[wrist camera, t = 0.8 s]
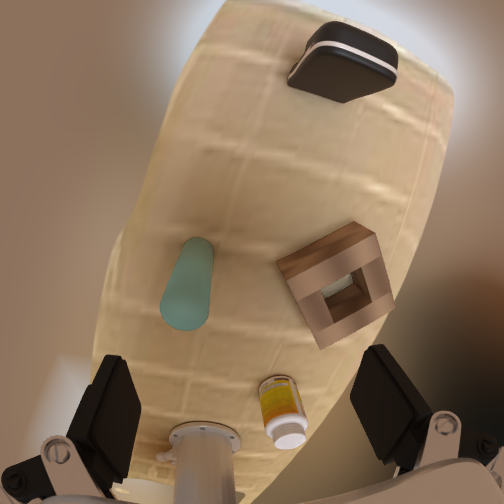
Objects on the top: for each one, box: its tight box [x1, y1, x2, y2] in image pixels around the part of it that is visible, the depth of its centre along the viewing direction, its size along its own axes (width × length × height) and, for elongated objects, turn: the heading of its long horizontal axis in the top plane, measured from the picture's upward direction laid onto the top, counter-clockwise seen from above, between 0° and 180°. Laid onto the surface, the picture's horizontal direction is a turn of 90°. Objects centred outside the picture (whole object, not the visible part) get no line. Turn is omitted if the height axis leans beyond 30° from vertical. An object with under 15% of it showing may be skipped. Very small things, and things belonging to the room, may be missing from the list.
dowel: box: [160, 238, 214, 331], centre depth 24 cm, size 3×3×12 cm
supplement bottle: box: [259, 376, 308, 449], centre depth 33 cm, size 6×6×10 cm
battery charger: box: [288, 21, 398, 103], centre depth 20 cm, size 7×4×11 cm, turn 78°
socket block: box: [277, 222, 395, 350], centre depth 30 cm, size 10×10×5 cm
